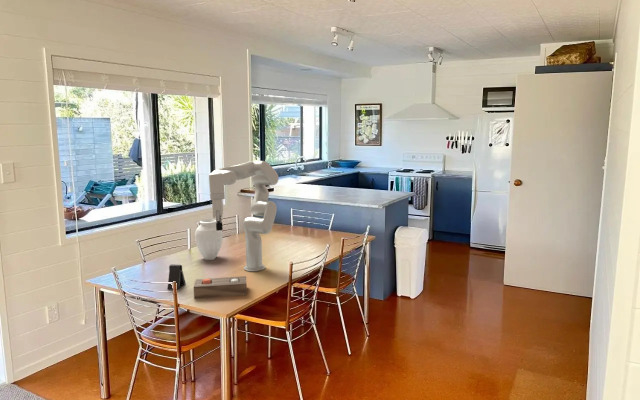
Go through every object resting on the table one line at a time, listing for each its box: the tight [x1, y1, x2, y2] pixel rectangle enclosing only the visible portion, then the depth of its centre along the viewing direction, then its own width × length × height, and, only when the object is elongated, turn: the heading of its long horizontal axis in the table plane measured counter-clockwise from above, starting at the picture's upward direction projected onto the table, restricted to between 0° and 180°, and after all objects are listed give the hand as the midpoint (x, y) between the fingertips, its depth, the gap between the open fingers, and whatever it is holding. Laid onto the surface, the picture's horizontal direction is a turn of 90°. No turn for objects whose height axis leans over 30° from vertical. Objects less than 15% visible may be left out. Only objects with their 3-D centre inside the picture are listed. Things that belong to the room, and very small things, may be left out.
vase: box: [194, 218, 224, 261], centre depth 300 cm, size 18×18×25 cm
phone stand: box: [167, 264, 186, 290], centre depth 248 cm, size 9×6×12 cm, turn 170°
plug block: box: [193, 275, 248, 299], centre depth 239 cm, size 12×26×6 cm, turn 99°
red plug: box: [203, 278, 211, 284], centre depth 238 cm, size 4×4×6 cm
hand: (219, 230), depth 247 cm, fingers closed
